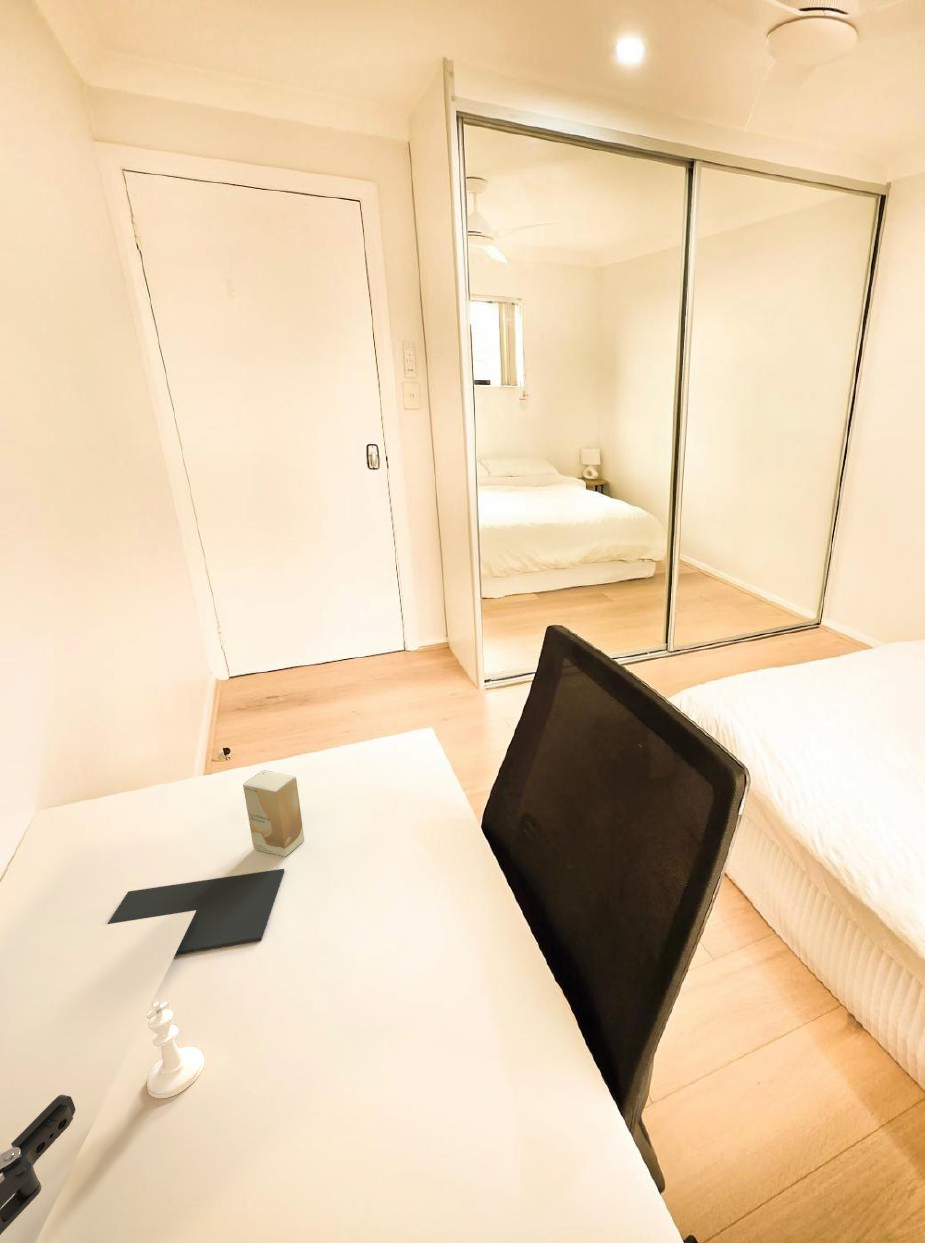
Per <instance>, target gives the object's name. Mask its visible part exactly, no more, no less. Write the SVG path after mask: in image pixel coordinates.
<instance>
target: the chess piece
mask: <svg viewBox="0 0 925 1243" xmlns="http://www.w3.org/2000/svg"><path fill="white" fill-rule="evenodd" d="M169 1007H170V1006H169V1003H168V1001H166V1000H165V1001H163V1003H160V1002H159V1001H156V1002H154V1003H153V1004H152V1008H153V1009H152V1010H151V1011H149V1012H148V1013H146V1017H147V1019H148V1023H147V1027H148V1028H149V1030H150V1031H153V1032H154V1035H153V1036H152V1045H153V1046H155V1047H159V1048H160V1047H161V1057H162V1058H161V1059H160V1060H159V1061H158V1062H157V1063H155V1065H154V1066H153V1067H152V1069H151V1070H150V1071H149V1074H148V1076H147V1079H146V1090H147V1092H148V1094H149V1096H150V1097H152V1098H155V1099H167V1098H171V1097H173V1096H176V1095H178V1094H180V1093H182V1092H184V1091H185V1090H187V1089H188V1088H189V1087H190V1086H191V1085H192V1084H194V1083H195V1081H197V1079H198V1078H199V1077H200V1075H201V1073H202V1072H203V1069H204V1066H205V1057H204V1054H203V1053H202V1051H201V1050H200V1049H199V1048H197V1047H194V1046H184V1047H180V1048H179V1047H178V1045H177V1044H176V1042H175V1039H176V1037H177V1036H178V1034H179V1028H178V1027H177V1026H176V1025H174V1024H172V1021H173V1017H174V1013H173V1011H172V1010H171V1009H167V1008H169Z"/></svg>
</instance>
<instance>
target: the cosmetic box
mask: <svg viewBox="0 0 925 1243" xmlns="http://www.w3.org/2000/svg"><path fill="white" fill-rule="evenodd" d="M242 787H243V793H244V799H245V800H244V801H245V805H246V811H247V819H248V823H249V828H250V834H251V835H250V836H251V841H252V848H253V849H254V850H256V851H260V852H264V853H267V854H272V855H276V856H279V857H287V856H289V855H290V854H291V853H292V852H293V851H294V850H295V849H296V848H298V847H299V846H300V845H301V844H302V843H304V842H305V834H304V833H305V832H304V825H303V818H302V811H301V810H302V809H301V804H300V795H299V788H298V781H297V776H295V775H291V774H286V773H283V772H276V771H272V770H267V769H262V770H261V771H260V772H258V773H256V774H255V775H254V776H252V777H251V778H249V779H248V780H246V781H245V782H244V783H242Z"/></svg>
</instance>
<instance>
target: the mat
mask: <svg viewBox="0 0 925 1243" xmlns="http://www.w3.org/2000/svg"><path fill="white" fill-rule="evenodd" d="M284 875H285V868H278V869H272V870H265V871H258V872H252V873H245V874H237V875H231V876H223V877H217V878H210V879H203V880H197V881H189V882H182V883H176V884H170V885H169V884H168V885H162V886H155V887H148V888H142V889H136V890H128V891H127V892H126V894H125V895H124V898H123V899H122V900H121V902H120V903H119V905H118V906H117V908H116V909H115V911H114V912H113V914H112V915H111V917H110V919H109V921H108V922H107V925H112V924H118V923H125V922H132V921H137V920H144V919H150V918H156V917H163V916H169V915H175V914H182V913H189V912H194V911H195V912H194V914H193V917H192V918H191V921H190V923H189V924H188V926H187V928H186V931H185V933H184V934H183V937H182V939H181V941H180V943H179V946H178V947H177V949H176V952H175V953H174V956H180V955H186V954H192V953H197V952H203V951H208V950H214V949H219V948H226V947H231V946H237V945H245V944H249V943H255V942H261V941H262V939H263V937H264V934H265V931H266V928H267V925H268V922H269V919H270V915H271V913H272V910H273V908H274V907H273V906H274V903H275V901H276V898H277V895H278V893H279V889H280V887H281V884H282V880H283V877H284Z"/></svg>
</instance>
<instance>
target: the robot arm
mask: <svg viewBox="0 0 925 1243" xmlns="http://www.w3.org/2000/svg"><path fill="white" fill-rule="evenodd" d="M75 1113H76V1107H75V1104H74V1101H73V1098H72V1096H71V1095H66V1094H59V1095H58V1096H56V1097H55V1098H54V1099H53V1100H52V1101H51V1102H50V1103H49V1104H48V1105H47V1107H45V1109H43V1110H42V1112H40V1114H38V1116H36V1117H35V1119H34V1120H33V1121H31V1123H30V1124H28V1126H27V1127H26V1128H25V1129H24V1130H23V1131H21V1133H19V1135H18V1136H17V1137H16V1138H15V1139H14V1140H13V1141H12V1142H11V1143H10V1145H11V1148H9V1149H7V1150H6V1151H3V1152H2V1153H0V1236H1V1235H2V1234H3V1233H4V1231H6V1230H7V1229H8V1227H10V1225H11V1224H12V1223H13V1222H14V1221H15V1220H16V1219H17V1218H18V1217H19V1216H20V1214H22V1212H23V1211H24V1210H25V1209H26V1208H27V1207H28V1206H30V1204H31V1203H32V1202H33V1201H34V1200H35V1199H36V1198H37V1196H38V1195H39V1194H40V1192H41V1191H42V1184H41V1182H40V1180H39V1178H38V1175H37V1174H36V1171H35V1167H34V1165H35V1164H36V1162H37V1161H38V1160H39V1159H40V1158H41V1157H42V1156H43V1154H44V1153H45V1152H46V1151H47V1150H48V1149H49V1148H50V1147H51V1146H52V1145H53V1144H54V1142H55V1141H57V1139H59V1137H60V1136H61V1135H62V1134H63V1133H64V1132H65V1131H66V1130H67V1129H68V1127H70V1125H71V1123H72V1122H73V1119H74V1115H75ZM1 1174H2V1175H1Z"/></svg>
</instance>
